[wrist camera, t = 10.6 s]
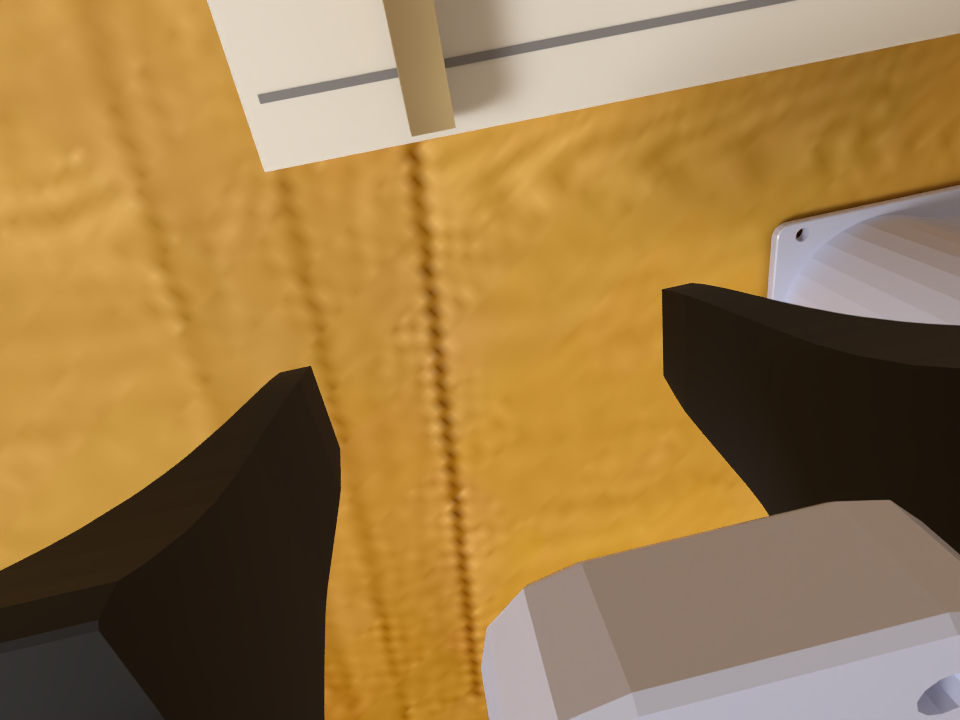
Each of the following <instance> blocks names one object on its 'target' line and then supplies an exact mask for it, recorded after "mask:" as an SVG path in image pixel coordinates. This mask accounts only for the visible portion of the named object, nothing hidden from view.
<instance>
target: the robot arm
mask: <svg viewBox="0 0 960 720" xmlns="http://www.w3.org/2000/svg"><path fill="white" fill-rule="evenodd" d="M800 229H803V231H802V234H801V235H800V236H799V237H798V238H796V234H797V232H798V231H799V230H800ZM662 315H663V372H664V377H665V379H666V381H667V382H668V384H669V386H670V388H671V389H672V391H673V393H674V395H675V396H676V398H677V399H678V401H679V403H680V404H681V406H682V407H683V409H684V411H685V412H686V413H687V414H688V416H689V417H690V418H691V419H692V421H693V422H694V423H695V424H696V425H697V427H698V428H699V429H700V430H701V431H702V433H703V434H704V435H705V436H706V437H707V439H708V440H709V441H710V442H711V443H712V445H713V446H714V447H715V448H716V449H717V450H718V452H719V453H720V454H721V455H722V456H723V457H724V459H725V460H726V461H727V462H728V463H729V465H730V466H731V467H732V468H733V469H734V470H735V472H736V473H737V474H738V475H739V476H740V477H741V479H742V480H743V481H744V482H745V483H746V485H747V486H748V487H749V488H750V490H751V491H752V492H753V493H754V495H755V496H756V497H757V499H758V500H759V501H760V502H761V504H762V505H763V507H764V508H765V510H766V511H767V513H768V514H769V516H768V517H764V518H760V519H755V520H751V521H747V522H743V523H739V524H735V525H730V526H726V527H722V528H718V529H714V530H710V531H705V532H701V533H697V534H693V535H689V536H685V537H681V538H676V539H672V540H668V541H664V542H660V543H656V544H651V545H647V546H643V547H639V548H635V549H631V550H627V551H622V552H618V553H614V554H610V555H606V556H602V557H597V558H593V559H589V560H585V561H581V562H577V563H575V564H573V565H571V566H568V567H566V568H564V569H562V570H559V571H557V572H555V573H553V574H550V575H548V576H546V577H544V578H541V579H539V580H537V581H535V582H532V583H530V584H528V585H527V586H526V587H524V588H523V589H522V590H521V591H520V593H519V594H518V595H517V596H516V597H515V598H514V599H513V600H512V601H511V602H510V603H509V604H508V606H507V607H506V608H505V609H504V610H503V611H502V612H501V613H500V614H499V615H498V616H497V617H496V619H495V620H494V621H493V622H492V623H491V624H490V625H489V626H488V627H487V629H486V636H485V643H484V650H483V657H482V664H481V671H482V678H483V684H484V690H485V696H486V702H487V709H488V715H489V720H960V185H957V186H952V187H947V188H943V189H938V190H933V191H929V192H924V193H919V194H915V195H910V196H905V197H901V198H896V199H891V200H887V201H882V202H877V203H873V204H868V205H863V206H859V207H854V208H849V209H845V210H840V211H835V212H831V213H826V214H821V215H817V216H812V217H807V218H803V219H798V220H793V221H789V222H785V223H782V224H780V225H779V226H778V227H777V228H776V229H775V230H774V232H773V235H772V241H771V254H770V267H769V280H768V293H767V298H764V297H760V296H756V295H751V294H747V293H743V292H739V291H734V290H730V289H726V288H721V287H716V286H711V285H705V284H696V283H689V284H685V285H680V286H676V287H671V288H666V289H662ZM340 491H341V466H340V447H339V444H338V441H337V439H336V436H335V433H334V430H333V427H332V425H331V422H330V419H329V416H328V413H327V410H326V408H325V405H324V402H323V399H322V396H321V393H320V391H319V388H318V385H317V382H316V379H315V377H314V374H313V371H312V368H311V366H308V367H304V368H299V369H294V370H290V371H285V372H281V373H279V374H278V375H276V376H275V377H273V378H272V379H271V380H270V381H269V382H268V383H267V384H265V385H264V386H263V387H262V388H261V389H260V390H259V391H258V392H257V393H256V394H255V395H254V396H253V397H252V398H251V399H250V400H249V401H248V402H247V403H245V404H244V405H243V406H242V407H241V408H240V409H239V410H238V411H237V412H236V413H235V414H234V415H233V416H232V417H231V418H230V419H229V420H228V421H227V422H226V423H224V424H223V425H222V426H221V427H220V428H219V429H218V430H217V431H215V432H214V433H213V434H212V435H211V436H210V437H209V438H207V439H206V440H205V441H204V442H203V443H202V444H201V445H199V446H198V447H197V448H196V449H195V450H194V451H192V452H191V453H190V454H189V455H188V456H187V457H185V458H184V459H183V460H182V461H180V462H179V463H178V464H177V465H175V466H174V467H173V468H171V469H170V470H169V471H167V472H166V473H165V474H163V475H162V476H161V477H159V478H158V479H156V480H155V481H154V482H152V483H151V484H150V485H148V486H147V487H145V488H144V489H143V490H141V491H140V492H138V493H137V494H135V495H134V496H132V497H131V498H129V499H127V500H126V501H124V502H123V503H121V504H119V505H118V506H116V507H115V508H113V509H111V510H110V511H108V512H106V513H105V514H103V515H102V516H100V517H98V518H97V519H95V520H94V521H92V522H90V523H89V524H87V525H86V526H84V527H82V528H81V529H79V530H77V531H75V532H74V533H72V534H70V535H68V536H66V537H64V538H63V539H61V540H59V541H57V542H55V543H54V544H52V545H50V546H48V547H46V548H44V549H42V550H40V551H38V552H36V553H35V554H33V555H31V556H29V557H27V558H25V559H23V560H21V561H19V562H17V563H15V564H13V565H11V566H9V567H7V568H5V569H3V570H1V571H0V720H324V654H325V612H326V599H327V588H328V580H329V573H330V566H331V559H332V551H333V544H334V537H335V530H336V523H337V515H338V508H339V500H340Z"/></svg>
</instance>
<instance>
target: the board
mask: <svg viewBox="0 0 960 720" xmlns="http://www.w3.org/2000/svg"><path fill="white" fill-rule="evenodd" d="M433 1H434V7H435V12H436V18H437V24H438V29H439V35H440V41H441V46H442V52H443V58H444V63H445V69H446V75H447V81H448V86H449V92H450V98H451V103H452V109H453V115H454V120H455V126H456V128H453V129H448V130H443V131H438V132H433V133H428V134H423V135H418V136H413V137H412V135H411V132H410V128H409V124H408V119H407V114H406V109H405V105H404V100H403V95H402V91H401V86H400V81H399V76H398V72H397V67H396V62H395V58H394V53H393V48H392V44H391V39H390V34H389V29H388V25H387V20H386V15H385V11H384V6H383V1H382V0H207V2H208V5H209V8H210V11H211V14H212V17H213V20H214V23H215V26H216V29H217V31H218V34H219V37H220V40H221V43H222V46H223V49H224V52H225V55H226V58H227V61H228V64H229V67H230V70H231V73H232V76H233V79H234V82H235V85H236V88H237V91H238V94H239V97H240V100H241V103H242V106H243V109H244V112H245V115H246V118H247V121H248V124H249V127H250V130H251V133H252V136H253V139H254V142H255V145H256V148H257V151H258V154H259V157H260V160H261V162H262V165H263V168H264V171H265V172H268V171H273V170H278V169H283V168H288V167H293V166H298V165H303V164H308V163H313V162H318V161H323V160H328V159H333V158H338V157H343V156H348V155H353V154H358V153H363V152H368V151H373V150H378V149H383V148H388V147H393V146H398V145H403V144H408V143H413V142H418V141H423V140H428V139H433V138H438V137H443V136H448V135H453V134H458V133H463V132H468V131H473V130H478V129H483V128H488V127H493V126H498V125H503V124H508V123H513V122H518V121H523V120H528V119H533V118H538V117H543V116H548V115H553V114H558V113H563V112H568V111H573V110H578V109H583V108H588V107H593V106H598V105H603V104H608V103H613V102H618V101H623V100H628V99H633V98H638V97H643V96H648V95H653V94H658V93H663V92H668V91H673V90H678V89H683V88H688V87H693V86H698V85H703V84H708V83H713V82H718V81H723V80H728V79H733V78H738V77H743V76H748V75H753V74H758V73H763V72H768V71H773V70H778V69H783V68H788V67H793V66H798V65H803V64H808V63H813V62H818V61H823V60H829V59H834V58H839V57H844V56H849V55H854V54H859V53H864V52H869V51H874V50H879V49H884V48H889V47H894V46H899V45H904V44H909V43H914V42H919V41H924V40H929V39H934V38H939V37H944V36H949V35H954V34H959V33H960V0H433Z"/></svg>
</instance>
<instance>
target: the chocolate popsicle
mask: <svg viewBox="0 0 960 720" xmlns="http://www.w3.org/2000/svg"><path fill="white" fill-rule="evenodd" d="M382 1H383V6H384V11H385V15H386V20H387V25H388V29H389V34H390V39H391V44H392V48H393V53H394V58H395V62H396V67H397V72H398V76H399V81H400V86H401V91H402V95H403V100H404V105H405V109H406V114H407V119H408V124H409V128H410V132H411V135H412V137H413V136H418V135H423V134H428V133H433V132H438V131H443V130H448V129H453V128H456V126H455V120H454V115H453V109H452V103H451V98H450V92H449V86H448V81H447V75H446V69H445V63H444V58H443V52H442V46H441V41H440V35H439V29H438V24H437V18H436V12H435V7H434V1H433V0H382Z"/></svg>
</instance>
